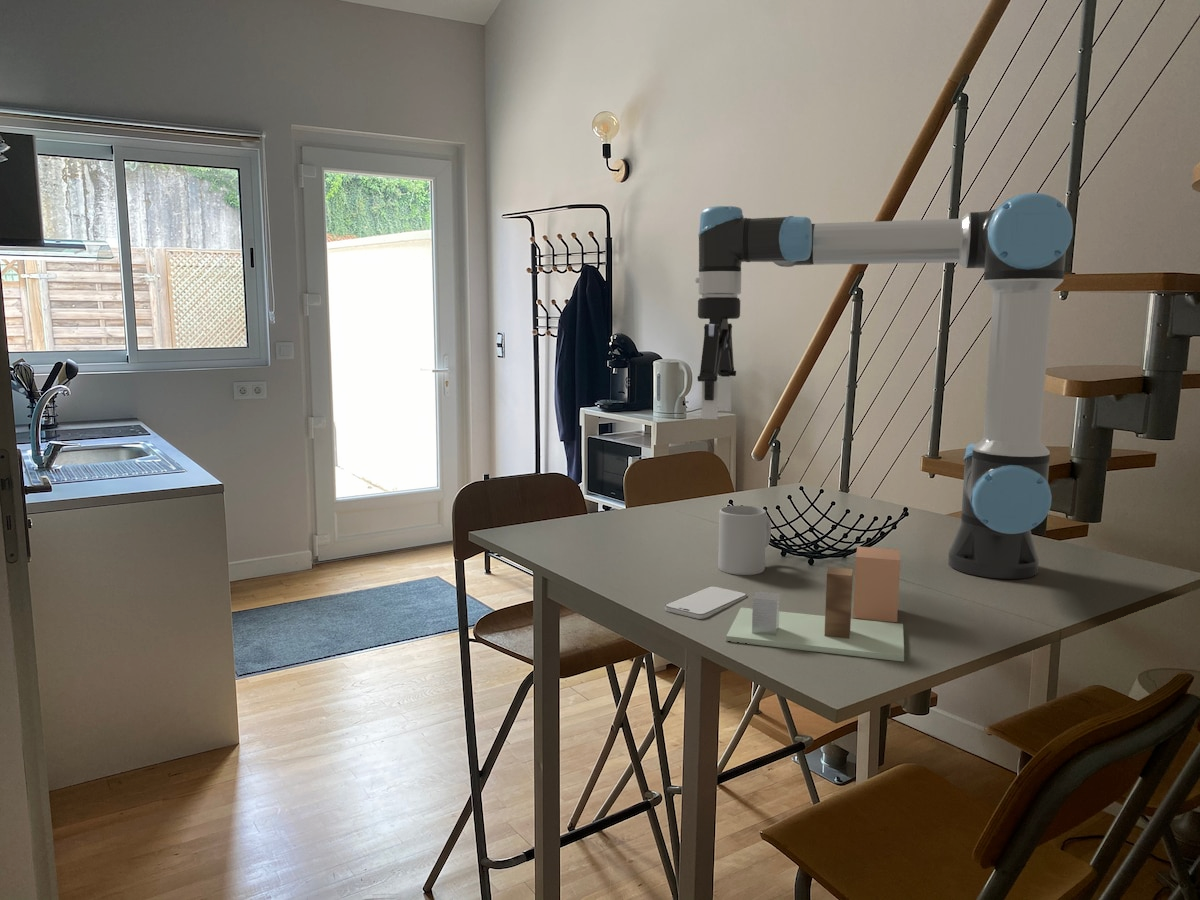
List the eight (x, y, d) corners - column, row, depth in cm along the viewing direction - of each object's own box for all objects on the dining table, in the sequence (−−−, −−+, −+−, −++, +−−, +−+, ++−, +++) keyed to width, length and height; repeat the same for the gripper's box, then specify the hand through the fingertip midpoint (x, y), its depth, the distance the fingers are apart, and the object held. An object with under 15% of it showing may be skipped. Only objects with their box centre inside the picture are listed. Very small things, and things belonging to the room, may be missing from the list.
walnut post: (850, 635, 128) (853, 569, 126) (848, 644, 125) (852, 575, 123) (825, 633, 129) (828, 567, 127) (824, 641, 126) (826, 573, 124)
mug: (744, 578, 156) (745, 517, 154) (708, 568, 162) (709, 509, 161) (786, 565, 164) (788, 508, 162) (750, 556, 170) (751, 500, 168)
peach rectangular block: (896, 609, 139) (899, 549, 138) (897, 622, 133) (900, 560, 132) (854, 605, 141) (857, 546, 140) (853, 617, 135) (855, 556, 134)
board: (902, 629, 131) (903, 624, 130) (903, 661, 118) (904, 655, 118) (740, 612, 138) (740, 607, 138) (726, 641, 126) (726, 635, 126)
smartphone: (749, 593, 146) (702, 615, 134) (749, 600, 146) (701, 622, 135) (711, 585, 151) (662, 605, 139) (710, 592, 151) (661, 612, 139)
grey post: (778, 632, 129) (779, 593, 128) (775, 641, 126) (776, 600, 125) (755, 630, 130) (756, 591, 129) (751, 638, 127) (752, 598, 126)
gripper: (711, 297, 170) (709, 407, 174) (683, 295, 147) (681, 421, 150) (750, 297, 168) (748, 408, 171) (727, 294, 145) (725, 423, 148)
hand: (716, 415), depth 161 cm, fingers open, 13 cm apart
